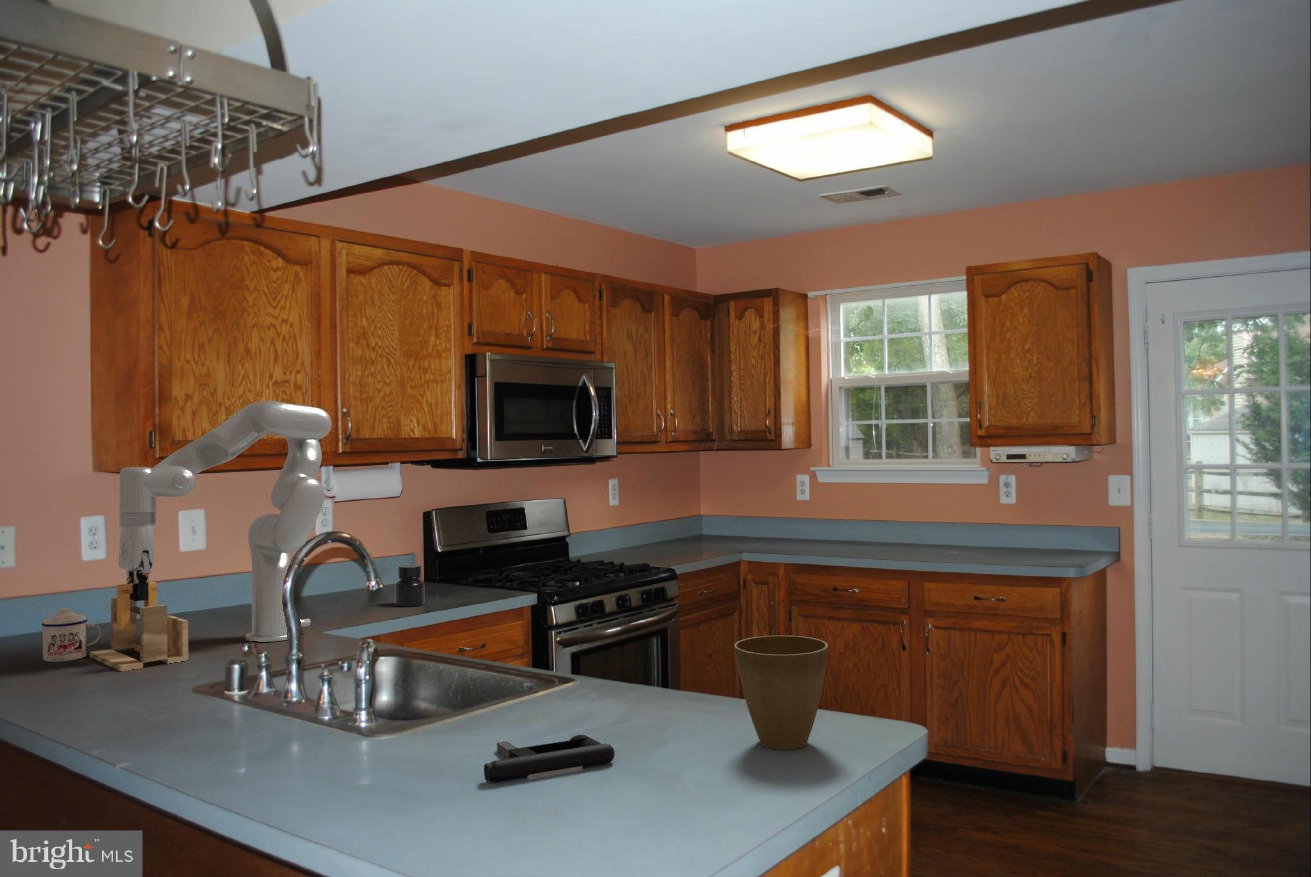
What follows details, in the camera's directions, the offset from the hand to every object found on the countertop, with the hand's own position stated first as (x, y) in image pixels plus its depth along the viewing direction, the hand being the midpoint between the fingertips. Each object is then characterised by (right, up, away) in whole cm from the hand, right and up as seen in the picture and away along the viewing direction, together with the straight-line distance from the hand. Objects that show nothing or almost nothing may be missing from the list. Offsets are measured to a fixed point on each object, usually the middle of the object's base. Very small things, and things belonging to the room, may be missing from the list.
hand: (137, 598), depth 221 cm
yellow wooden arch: (0, -6, 0) cm, 6 cm away
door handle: (+102, -13, -76) cm, 128 cm away
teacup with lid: (-17, -14, +2) cm, 22 cm away
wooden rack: (0, -14, 0) cm, 14 cm away
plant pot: (+140, -12, -68) cm, 156 cm away
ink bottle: (+44, -15, +74) cm, 88 cm away
